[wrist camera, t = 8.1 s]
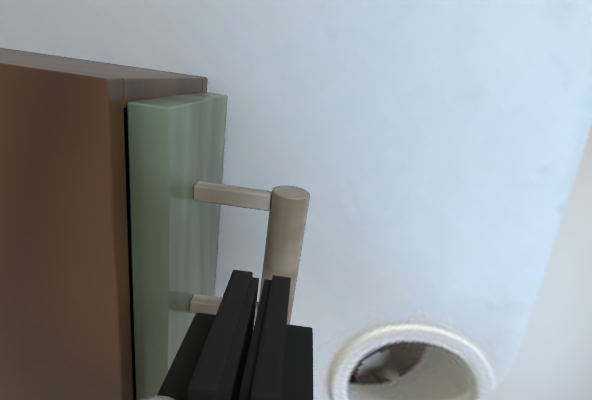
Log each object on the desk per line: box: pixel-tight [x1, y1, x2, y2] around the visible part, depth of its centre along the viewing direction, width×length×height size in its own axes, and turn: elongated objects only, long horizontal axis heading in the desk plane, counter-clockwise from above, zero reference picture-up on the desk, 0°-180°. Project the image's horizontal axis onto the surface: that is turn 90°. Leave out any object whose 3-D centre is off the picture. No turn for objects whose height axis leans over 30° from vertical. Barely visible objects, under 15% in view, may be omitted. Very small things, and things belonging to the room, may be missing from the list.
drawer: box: [123, 92, 310, 400], centre depth 14 cm, size 18×11×7 cm, turn 82°
